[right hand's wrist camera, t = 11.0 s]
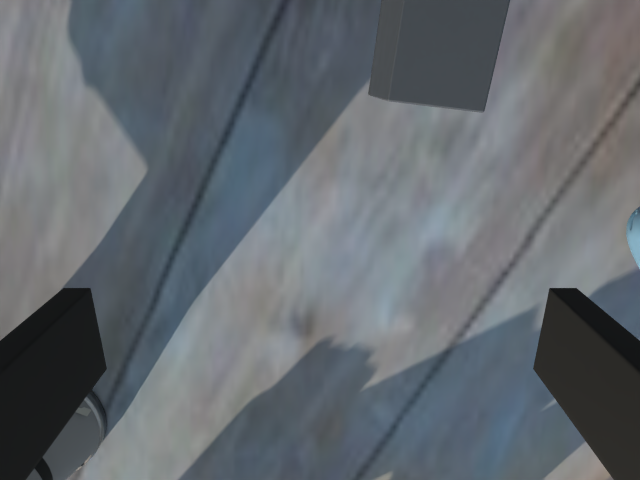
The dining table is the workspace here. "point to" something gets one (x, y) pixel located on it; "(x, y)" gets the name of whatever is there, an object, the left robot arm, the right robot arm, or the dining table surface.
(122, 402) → the dining table surface
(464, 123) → the dining table surface
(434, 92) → the bar
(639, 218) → the left robot arm
